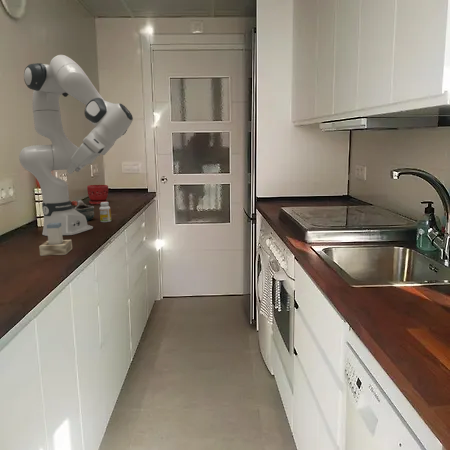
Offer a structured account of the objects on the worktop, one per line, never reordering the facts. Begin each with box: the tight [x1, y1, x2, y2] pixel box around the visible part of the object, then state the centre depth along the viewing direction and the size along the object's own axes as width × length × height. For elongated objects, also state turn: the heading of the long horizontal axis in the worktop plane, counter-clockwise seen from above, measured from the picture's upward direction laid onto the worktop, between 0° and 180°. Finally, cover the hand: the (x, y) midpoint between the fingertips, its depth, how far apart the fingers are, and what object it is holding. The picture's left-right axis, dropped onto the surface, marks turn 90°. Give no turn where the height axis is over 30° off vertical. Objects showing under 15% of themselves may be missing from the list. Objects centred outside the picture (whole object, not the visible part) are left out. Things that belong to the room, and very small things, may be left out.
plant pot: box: [86, 184, 109, 205], centre depth 293 cm, size 13×13×12 cm
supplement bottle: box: [98, 201, 112, 223], centre depth 227 cm, size 5×5×10 cm
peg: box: [47, 223, 64, 245], centre depth 166 cm, size 4×4×10 cm
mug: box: [73, 199, 95, 222], centre depth 233 cm, size 10×12×10 cm
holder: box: [38, 239, 73, 257], centre depth 167 cm, size 9×9×4 cm
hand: (72, 171), depth 163 cm, fingers open, 8 cm apart
